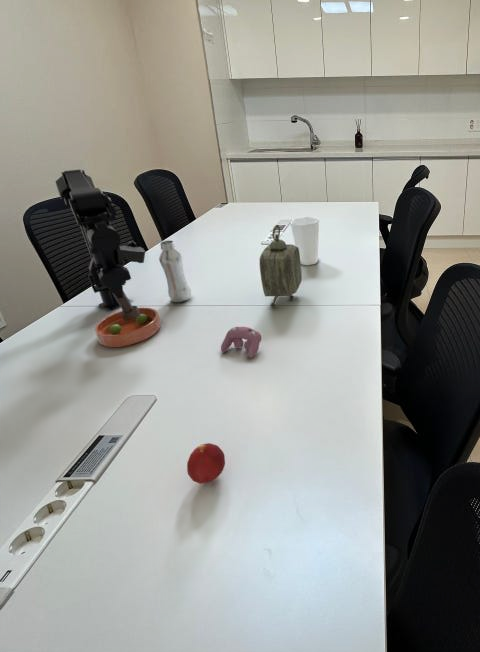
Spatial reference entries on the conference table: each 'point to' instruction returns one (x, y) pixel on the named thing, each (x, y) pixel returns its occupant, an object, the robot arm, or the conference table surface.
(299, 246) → the cup
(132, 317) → the brown bolt
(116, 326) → the olive
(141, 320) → the olive
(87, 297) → the conference table surface
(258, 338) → the video game controller
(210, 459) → the onion
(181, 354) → the conference table surface
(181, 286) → the plastic bottle
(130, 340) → the bowl
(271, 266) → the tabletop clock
